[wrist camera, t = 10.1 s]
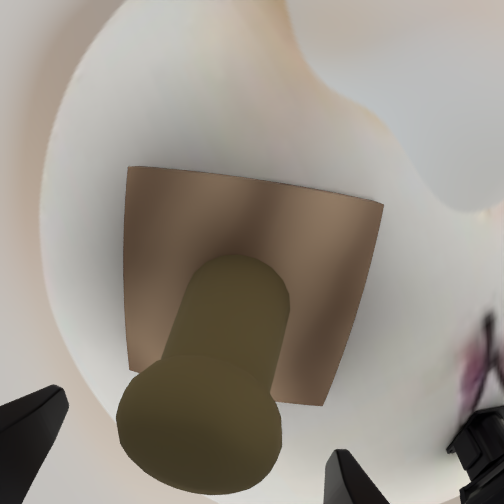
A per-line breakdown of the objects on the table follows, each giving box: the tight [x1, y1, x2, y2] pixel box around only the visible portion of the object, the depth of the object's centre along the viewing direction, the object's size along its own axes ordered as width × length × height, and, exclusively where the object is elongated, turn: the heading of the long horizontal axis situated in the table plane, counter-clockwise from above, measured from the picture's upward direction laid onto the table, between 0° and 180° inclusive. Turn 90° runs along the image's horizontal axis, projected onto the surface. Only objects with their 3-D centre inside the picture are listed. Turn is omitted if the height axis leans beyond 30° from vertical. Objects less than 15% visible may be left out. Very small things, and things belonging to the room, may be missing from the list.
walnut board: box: [123, 166, 384, 406], centre depth 18 cm, size 14×14×2 cm
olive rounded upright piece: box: [116, 254, 290, 495], centre depth 12 cm, size 6×6×11 cm
